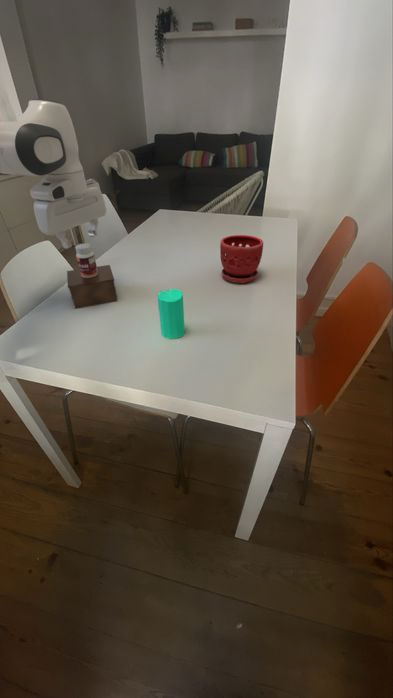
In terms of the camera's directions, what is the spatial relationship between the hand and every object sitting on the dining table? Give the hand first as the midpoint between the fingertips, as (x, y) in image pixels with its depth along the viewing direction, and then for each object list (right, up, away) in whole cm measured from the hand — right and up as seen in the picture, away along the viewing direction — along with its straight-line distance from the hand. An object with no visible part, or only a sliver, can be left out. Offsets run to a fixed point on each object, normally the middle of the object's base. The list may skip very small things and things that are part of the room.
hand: (81, 241), depth 85 cm
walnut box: (+1, -13, +10) cm, 17 cm away
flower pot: (+45, -5, +19) cm, 49 cm away
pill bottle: (0, -8, +6) cm, 10 cm away
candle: (+25, -25, -5) cm, 36 cm away
